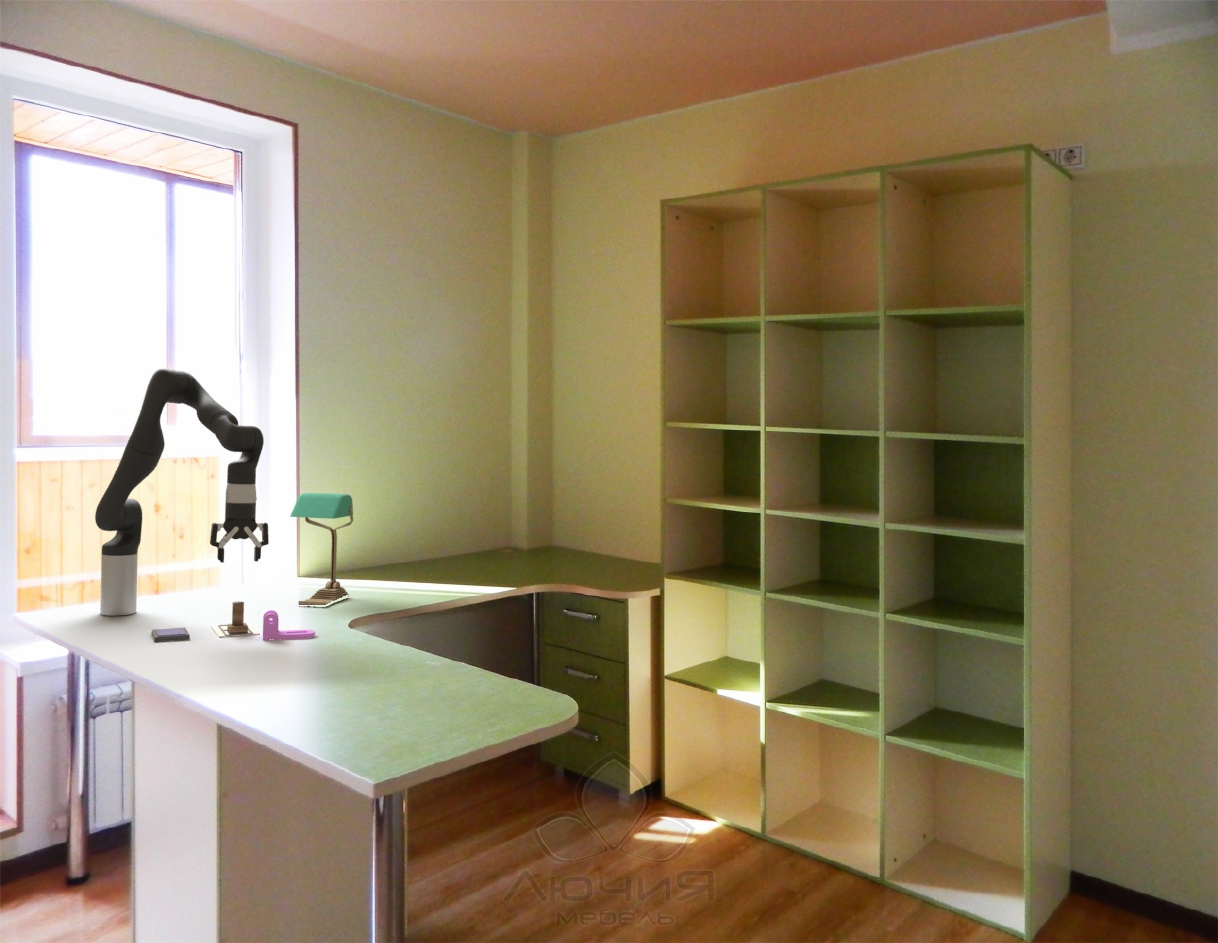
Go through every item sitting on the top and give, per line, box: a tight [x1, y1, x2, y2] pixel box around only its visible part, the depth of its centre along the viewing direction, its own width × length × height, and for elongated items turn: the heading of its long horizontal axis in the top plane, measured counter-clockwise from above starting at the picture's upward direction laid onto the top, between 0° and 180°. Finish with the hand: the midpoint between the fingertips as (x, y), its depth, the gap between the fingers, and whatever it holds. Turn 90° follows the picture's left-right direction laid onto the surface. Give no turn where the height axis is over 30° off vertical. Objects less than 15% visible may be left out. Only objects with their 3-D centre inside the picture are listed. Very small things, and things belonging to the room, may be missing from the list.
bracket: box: [262, 609, 316, 641], centre depth 241 cm, size 13×6×7 cm, turn 111°
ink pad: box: [151, 627, 191, 643], centre depth 237 cm, size 10×8×1 cm
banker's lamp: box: [289, 492, 354, 605], centre depth 293 cm, size 16×21×35 cm
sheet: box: [210, 623, 260, 638], centre depth 247 cm, size 14×10×1 cm
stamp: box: [227, 601, 248, 634], centre depth 243 cm, size 4×4×8 cm
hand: (239, 561), depth 243 cm, fingers open, 8 cm apart
